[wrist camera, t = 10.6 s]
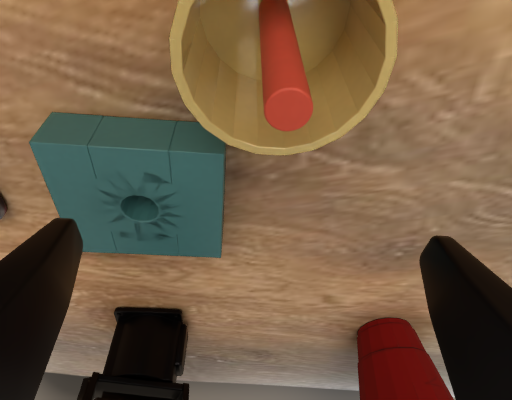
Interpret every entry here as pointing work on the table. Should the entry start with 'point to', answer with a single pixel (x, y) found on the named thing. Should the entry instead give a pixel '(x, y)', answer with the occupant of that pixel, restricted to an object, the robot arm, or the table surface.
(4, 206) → the eraser
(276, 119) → the red rod
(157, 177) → the block
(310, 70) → the tumbler
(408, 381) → the plastic cup
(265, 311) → the table surface
